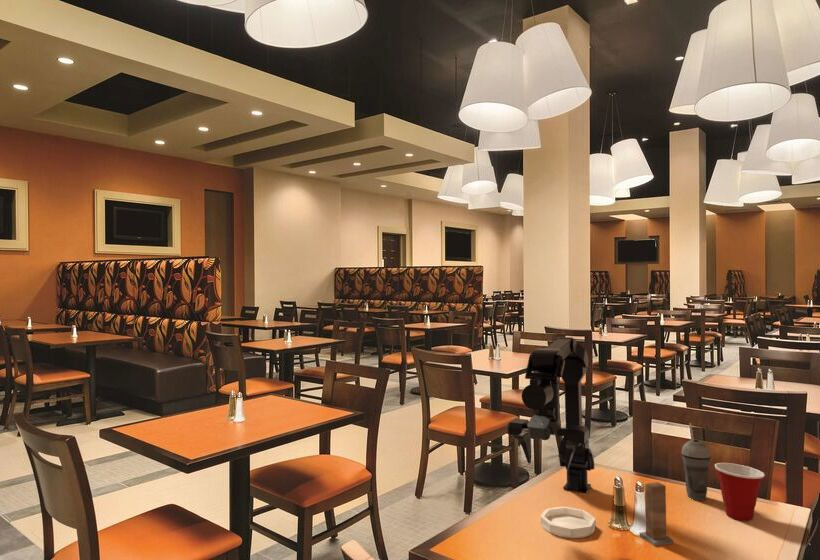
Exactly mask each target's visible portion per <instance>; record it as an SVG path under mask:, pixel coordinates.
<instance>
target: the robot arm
mask: <svg viewBox="0 0 820 560" xmlns="http://www.w3.org/2000/svg"><path fill="white" fill-rule="evenodd" d="M588 368H589V355H588V353H587V349H586V347H584V346H582V345H580V344H579V343H578V341H577V340H576V337H575V338H574V337H570V336H569V337H567V336H558V337H556V338H555V339H554V341H553V342H551V344H549V345H548V346H547V347H544V348H543V347H542V348H541V347H540V348H534V349H533V350H532V351H531V353H530V354H529V357H528V362H527V367H526V371H525V376H524V379H526V380H529V384H528V385H526V386H525V387H524V388H523V390H522V392H521V400H522V403H523V404H524V406H526V407H527V408H529V410H533V412H532V416H531V417H530V418H529V419H524V418H514V419H511V421H509V422H508V423H507V426H506V434H508V435H510V436H511V435H512V438H513V439H516V440H517V441H518V442H519V443H520V444H519V445H520V446H521V448H522V450H523V453H524V456H525V459H526V461H527V464H531V462H532V439H533V440H534V439H538V440H542V441H548V440H549V439H550V437H551V436H558V437H559V436H560V437H562V439H561V440H560V443H559V447H558V459H559V466H560V467H565V469H566V484H565V485H563V487H562V489H563V490H566V491H571V492H577V493H583V494H586V493H588V491H589V490H590V489H591V486H592V484H590V483H588V481H589V480H588V471H589V472H590V471H591V470H595V459H594V455H593V452H592V449H591V448H590V442H589V439H590V430H589V428H588V427H587V426H586V425H584V426H583V407H582V406H583V404H582V402H583V400H582V380H583V378H584V377H585V375H586V374H587V371H588ZM560 378H561V379H562V380H563V383H564V384H563V385H564V408H565V409H564V411H565V413H564V415H565V427H560V426H561V420H560V409H561V404H560V388H559V386H560V385H559V381H560V380H561V379H560Z"/></svg>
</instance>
